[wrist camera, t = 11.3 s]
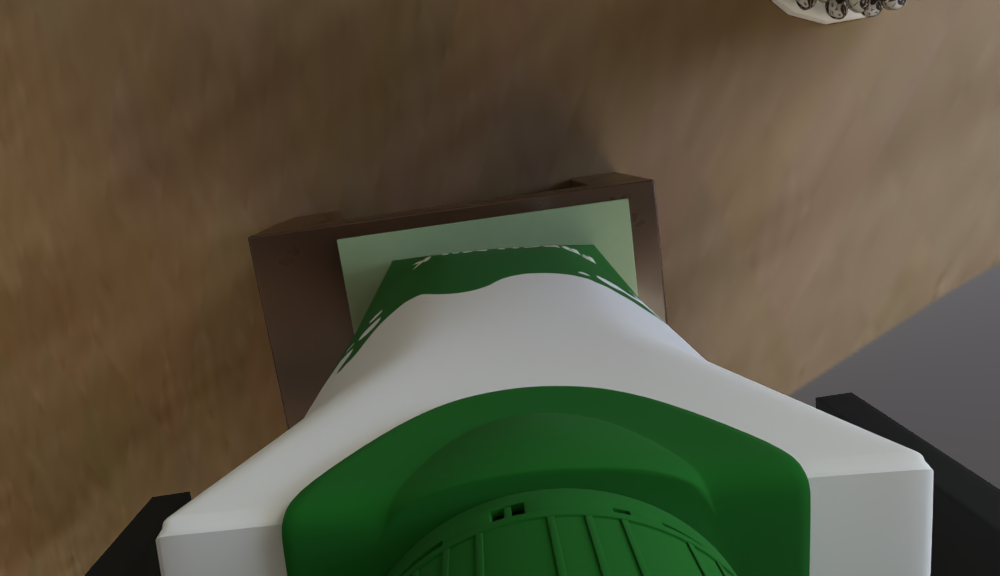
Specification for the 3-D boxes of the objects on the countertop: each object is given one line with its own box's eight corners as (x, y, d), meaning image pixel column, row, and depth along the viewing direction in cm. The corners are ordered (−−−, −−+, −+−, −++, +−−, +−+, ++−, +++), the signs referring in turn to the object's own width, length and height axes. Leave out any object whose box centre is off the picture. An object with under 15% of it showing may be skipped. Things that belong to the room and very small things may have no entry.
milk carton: (618, 215, 24) (1237, 512, 5) (628, 461, 26) (1106, 1416, 6) (361, 235, 24) (-117, 635, 4) (389, 482, 26) (137, 1534, 6)
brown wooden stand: (293, 217, 30) (245, 237, 24) (616, 171, 31) (656, 179, 24) (340, 454, 33) (307, 532, 26) (641, 410, 33) (683, 477, 26)
